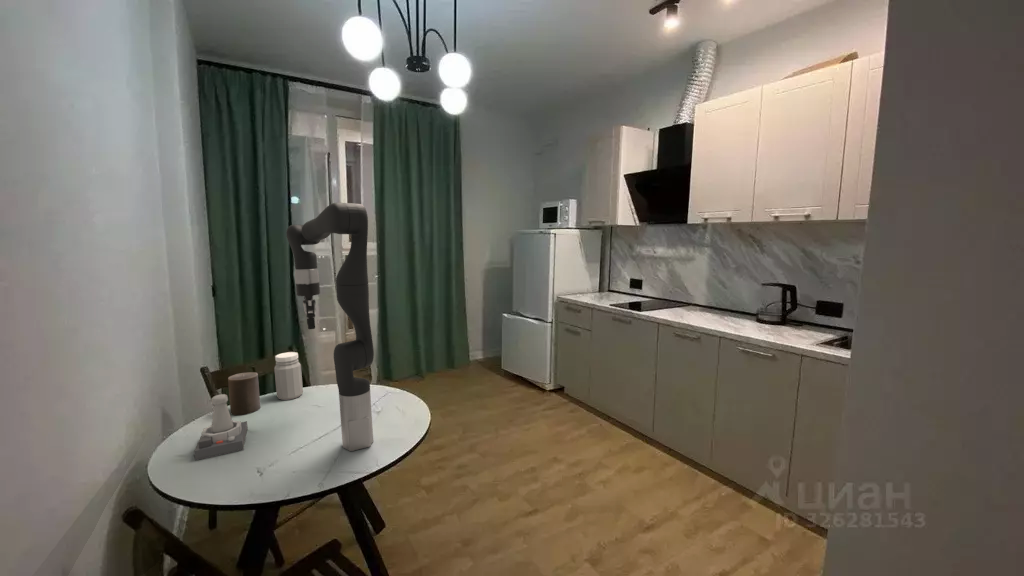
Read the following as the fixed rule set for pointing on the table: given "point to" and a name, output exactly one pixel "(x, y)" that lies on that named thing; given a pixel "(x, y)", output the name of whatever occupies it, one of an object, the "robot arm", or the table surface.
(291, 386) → the jar
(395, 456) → the table surface
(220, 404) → the salt shaker
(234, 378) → the pillar candle
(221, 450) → the octagon ring base
